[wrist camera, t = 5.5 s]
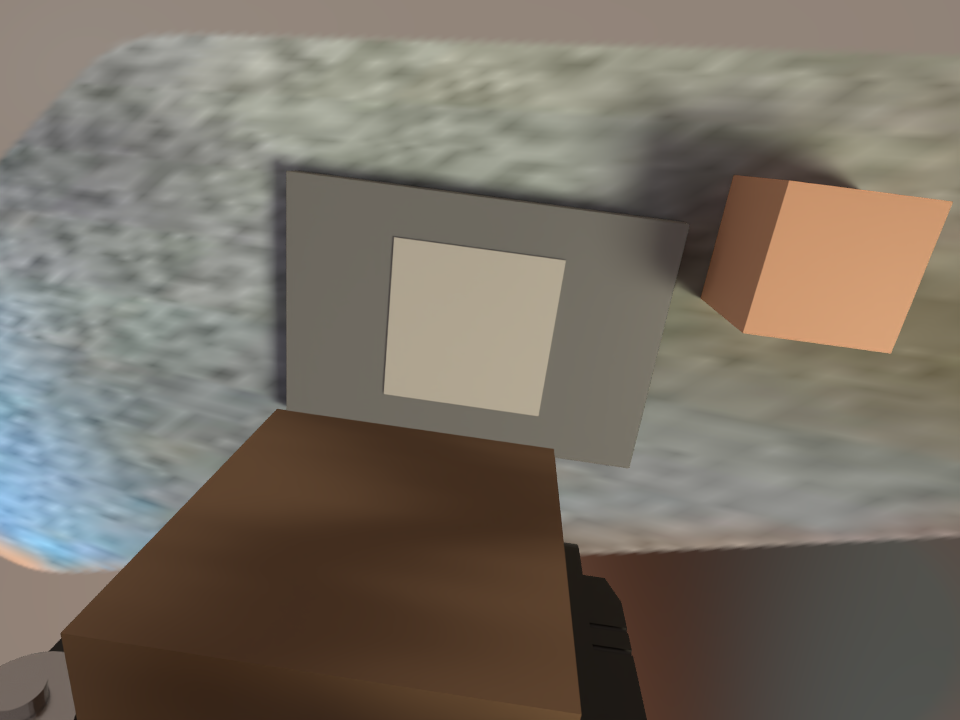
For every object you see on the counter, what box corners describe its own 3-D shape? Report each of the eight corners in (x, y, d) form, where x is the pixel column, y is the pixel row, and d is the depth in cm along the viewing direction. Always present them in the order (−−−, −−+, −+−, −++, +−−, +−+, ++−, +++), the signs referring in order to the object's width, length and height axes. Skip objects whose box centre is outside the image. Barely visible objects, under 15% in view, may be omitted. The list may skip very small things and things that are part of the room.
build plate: (683, 221, 23) (690, 224, 22) (625, 457, 26) (629, 469, 25) (295, 170, 23) (285, 171, 22) (294, 409, 27) (285, 419, 26)
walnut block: (553, 449, 10) (581, 714, 5) (513, 657, 12) (507, 996, 7) (277, 409, 10) (61, 633, 5) (278, 621, 12) (117, 929, 7)
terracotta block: (861, 191, 22) (953, 201, 17) (818, 313, 24) (890, 353, 19) (733, 174, 22) (789, 180, 17) (700, 297, 24) (742, 333, 19)
